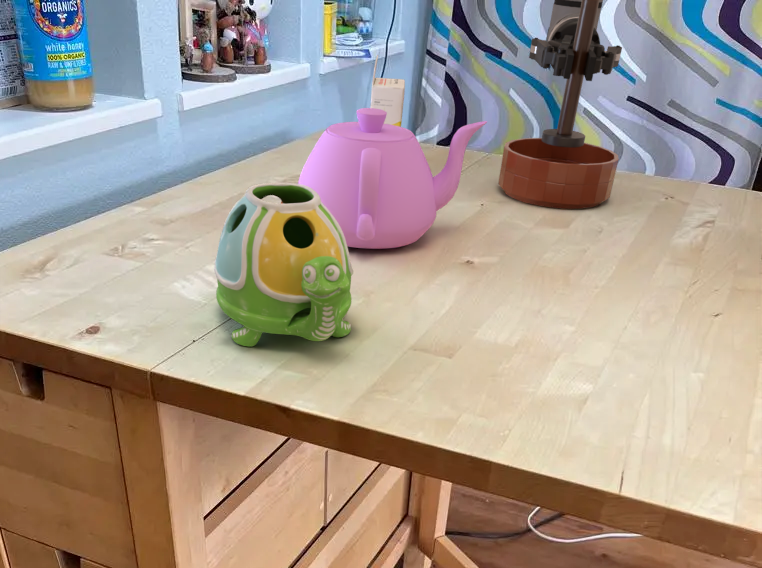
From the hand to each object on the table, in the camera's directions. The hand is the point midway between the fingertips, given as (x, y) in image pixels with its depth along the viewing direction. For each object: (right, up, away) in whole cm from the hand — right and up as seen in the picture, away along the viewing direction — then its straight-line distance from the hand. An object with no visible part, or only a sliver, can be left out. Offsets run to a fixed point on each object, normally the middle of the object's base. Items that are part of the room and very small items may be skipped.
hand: (580, 68), depth 105 cm
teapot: (-26, -24, -5) cm, 36 cm away
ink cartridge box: (-25, -3, +23) cm, 34 cm away
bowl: (0, -10, +15) cm, 18 cm away
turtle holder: (-35, -42, -29) cm, 62 cm away
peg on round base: (0, -5, +11) cm, 11 cm away
